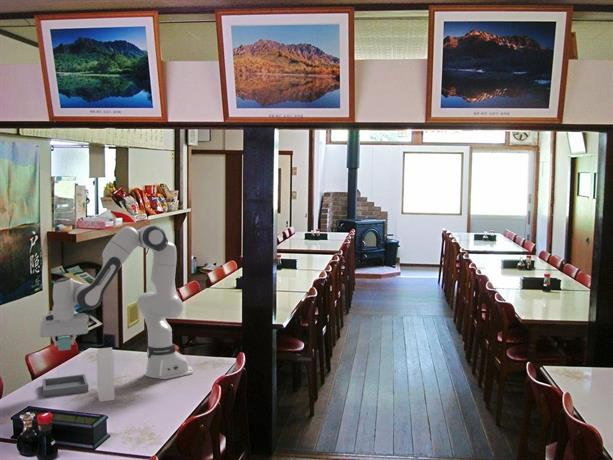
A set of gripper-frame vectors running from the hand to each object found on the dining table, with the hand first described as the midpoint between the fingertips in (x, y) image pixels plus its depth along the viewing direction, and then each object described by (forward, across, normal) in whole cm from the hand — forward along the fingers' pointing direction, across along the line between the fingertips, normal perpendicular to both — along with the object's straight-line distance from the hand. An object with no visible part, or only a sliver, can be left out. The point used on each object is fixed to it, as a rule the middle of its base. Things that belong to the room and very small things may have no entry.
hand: (64, 345), depth 272 cm
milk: (+20, -15, +20) cm, 32 cm away
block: (+2, 0, 0) cm, 2 cm away
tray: (+20, 0, +1) cm, 20 cm away
